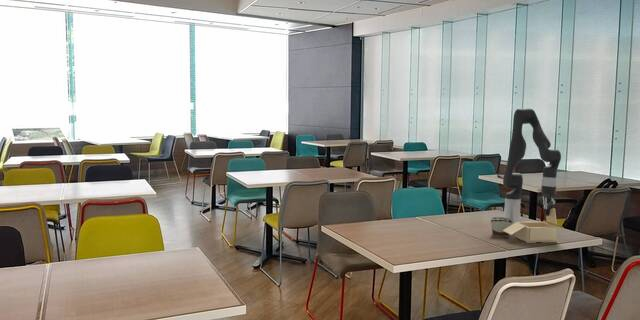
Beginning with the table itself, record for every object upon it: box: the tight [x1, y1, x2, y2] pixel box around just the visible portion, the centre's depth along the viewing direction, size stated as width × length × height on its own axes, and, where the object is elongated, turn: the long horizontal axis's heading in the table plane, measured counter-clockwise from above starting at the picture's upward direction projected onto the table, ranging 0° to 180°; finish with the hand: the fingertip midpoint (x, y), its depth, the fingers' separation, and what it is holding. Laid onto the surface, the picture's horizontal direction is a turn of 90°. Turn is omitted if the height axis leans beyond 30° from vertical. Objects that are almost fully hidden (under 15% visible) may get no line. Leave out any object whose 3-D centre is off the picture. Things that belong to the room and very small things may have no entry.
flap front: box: [503, 222, 525, 236], centre depth 291 cm, size 10×1×9 cm
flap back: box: [545, 207, 558, 226], centre depth 293 cm, size 10×1×9 cm, turn 8°
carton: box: [514, 221, 559, 244], centre depth 293 cm, size 15×17×8 cm
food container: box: [490, 216, 513, 237], centre depth 303 cm, size 12×6×10 cm, turn 84°
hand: (546, 215), depth 293 cm, fingers closed
